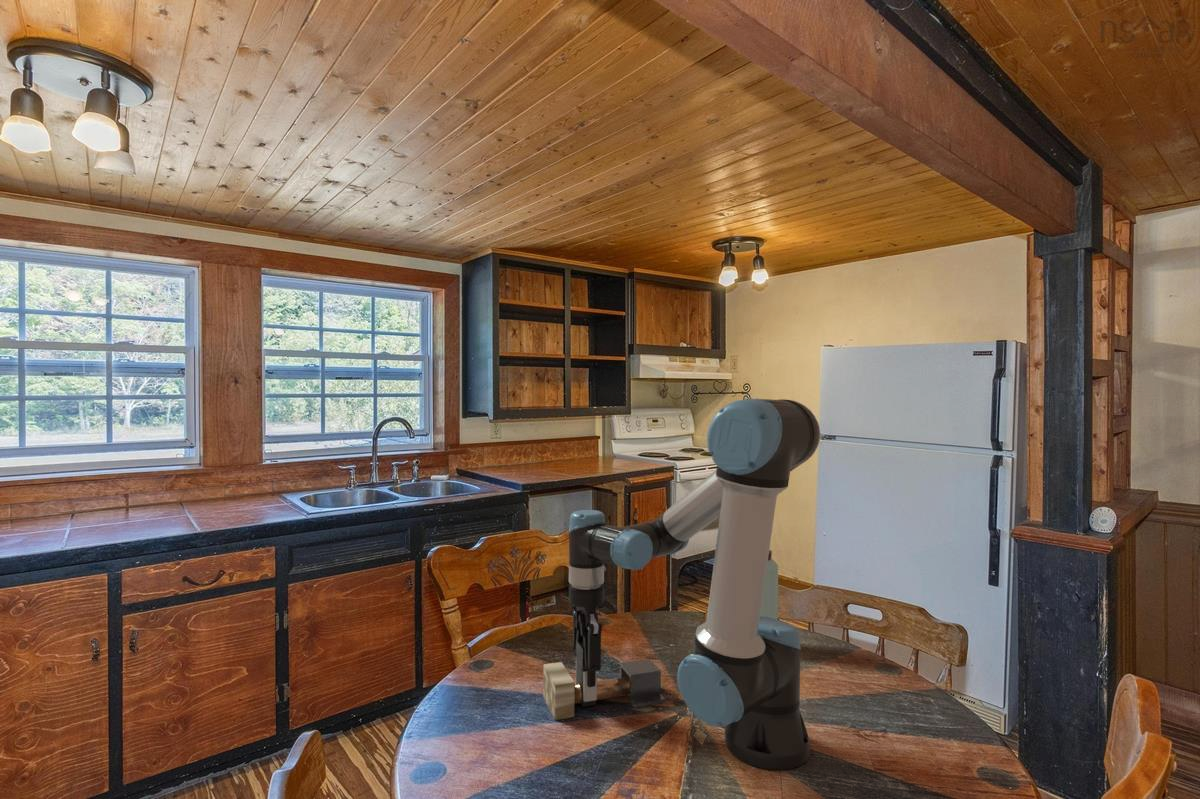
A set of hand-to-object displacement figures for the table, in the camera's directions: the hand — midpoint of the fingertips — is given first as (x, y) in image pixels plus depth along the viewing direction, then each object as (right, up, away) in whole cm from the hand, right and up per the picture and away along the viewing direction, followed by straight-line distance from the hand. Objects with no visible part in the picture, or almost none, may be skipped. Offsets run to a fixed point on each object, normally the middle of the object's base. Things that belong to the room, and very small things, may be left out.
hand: (585, 694), depth 127 cm
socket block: (-6, -2, -2) cm, 6 cm away
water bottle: (+45, -2, +30) cm, 54 cm away
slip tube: (+3, -2, +1) cm, 3 cm away
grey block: (+12, -2, +4) cm, 13 cm away
